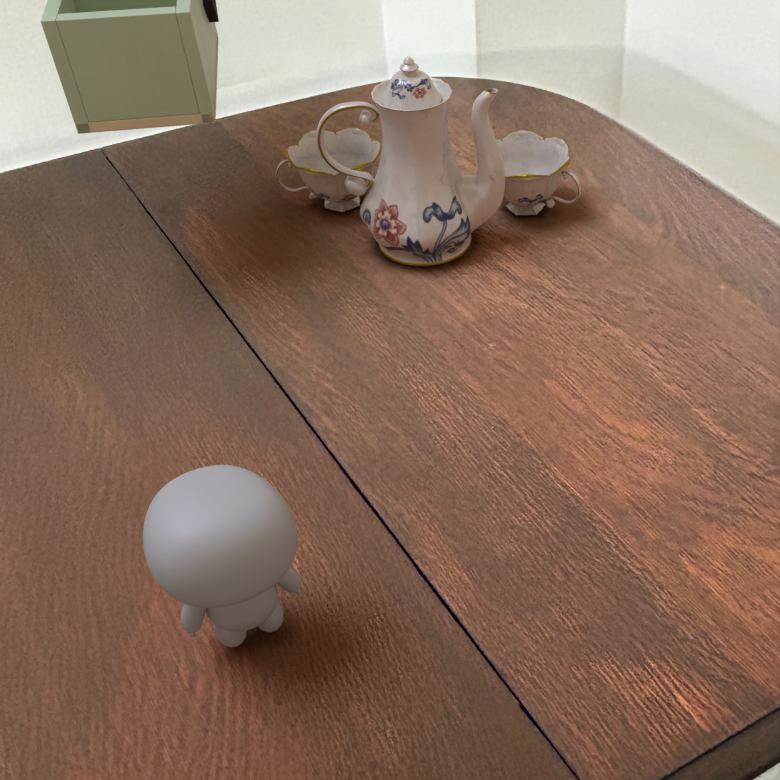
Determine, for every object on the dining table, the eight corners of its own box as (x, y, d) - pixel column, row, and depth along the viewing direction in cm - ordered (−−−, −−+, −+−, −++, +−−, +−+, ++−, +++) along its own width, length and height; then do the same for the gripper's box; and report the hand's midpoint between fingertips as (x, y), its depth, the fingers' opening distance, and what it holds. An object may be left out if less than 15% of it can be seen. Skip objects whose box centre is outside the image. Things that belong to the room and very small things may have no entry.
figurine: (294, 569, 66) (256, 428, 57) (337, 651, 61) (304, 513, 53) (170, 616, 63) (111, 476, 54) (206, 706, 59) (148, 570, 50)
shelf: (97, 47, 87) (66, -58, 81) (218, 39, 88) (196, -65, 82) (78, 134, 76) (40, 21, 70) (215, 123, 77) (189, 11, 71)
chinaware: (573, 192, 101) (576, 9, 90) (588, 270, 89) (594, 69, 78) (289, 199, 100) (257, 15, 89) (263, 279, 88) (223, 77, 77)
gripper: (252, -242, 85) (291, 30, 86) (-36, -233, 82) (8, 50, 83) (239, -314, 77) (281, -15, 79) (-79, -306, 74) (-30, 5, 75)
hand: (141, 18), depth 81 cm, fingers closed on shelf, 10 cm apart
